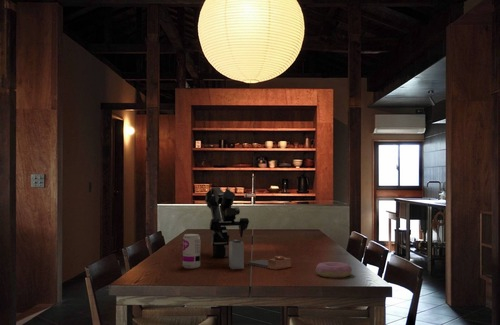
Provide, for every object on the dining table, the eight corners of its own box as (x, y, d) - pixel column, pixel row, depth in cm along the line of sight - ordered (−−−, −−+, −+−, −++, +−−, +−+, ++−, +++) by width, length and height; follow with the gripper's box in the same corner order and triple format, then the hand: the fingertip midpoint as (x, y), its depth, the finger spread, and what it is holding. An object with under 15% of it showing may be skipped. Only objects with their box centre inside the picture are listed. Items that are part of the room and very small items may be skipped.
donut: (327, 280, 207) (327, 268, 207) (308, 273, 220) (308, 262, 221) (359, 277, 213) (359, 265, 213) (338, 271, 227) (338, 259, 227)
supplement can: (186, 269, 230) (186, 236, 231) (180, 266, 238) (180, 234, 238) (202, 267, 234) (203, 235, 234) (196, 264, 241) (196, 233, 242)
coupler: (247, 264, 243) (247, 253, 243) (262, 261, 249) (262, 251, 250) (275, 269, 229) (275, 258, 229) (290, 267, 236) (290, 256, 236)
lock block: (229, 267, 235) (229, 239, 236) (240, 266, 237) (240, 239, 237) (232, 269, 230) (232, 241, 230) (243, 268, 231) (243, 240, 232)
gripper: (210, 202, 243) (215, 227, 233) (247, 201, 249) (254, 226, 238) (207, 217, 251) (212, 242, 240) (243, 216, 256) (249, 240, 245)
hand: (232, 237), depth 241 cm, fingers open, 9 cm apart
